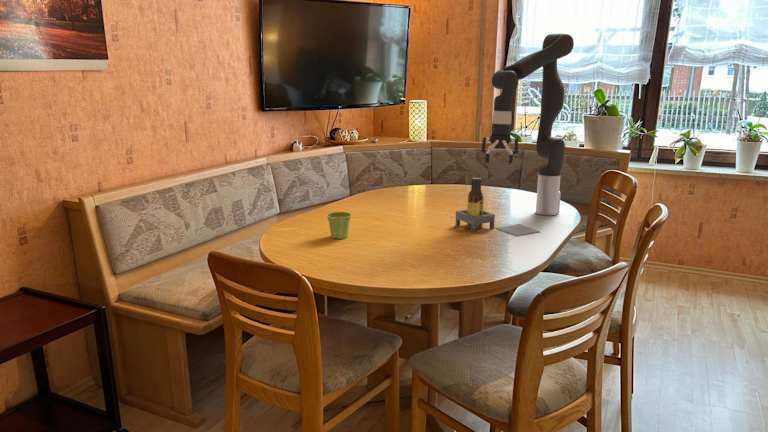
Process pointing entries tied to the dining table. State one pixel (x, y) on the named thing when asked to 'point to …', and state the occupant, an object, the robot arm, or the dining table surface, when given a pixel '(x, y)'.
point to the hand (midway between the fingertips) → (498, 163)
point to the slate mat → (518, 230)
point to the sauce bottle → (475, 200)
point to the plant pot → (339, 224)
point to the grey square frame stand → (475, 219)
